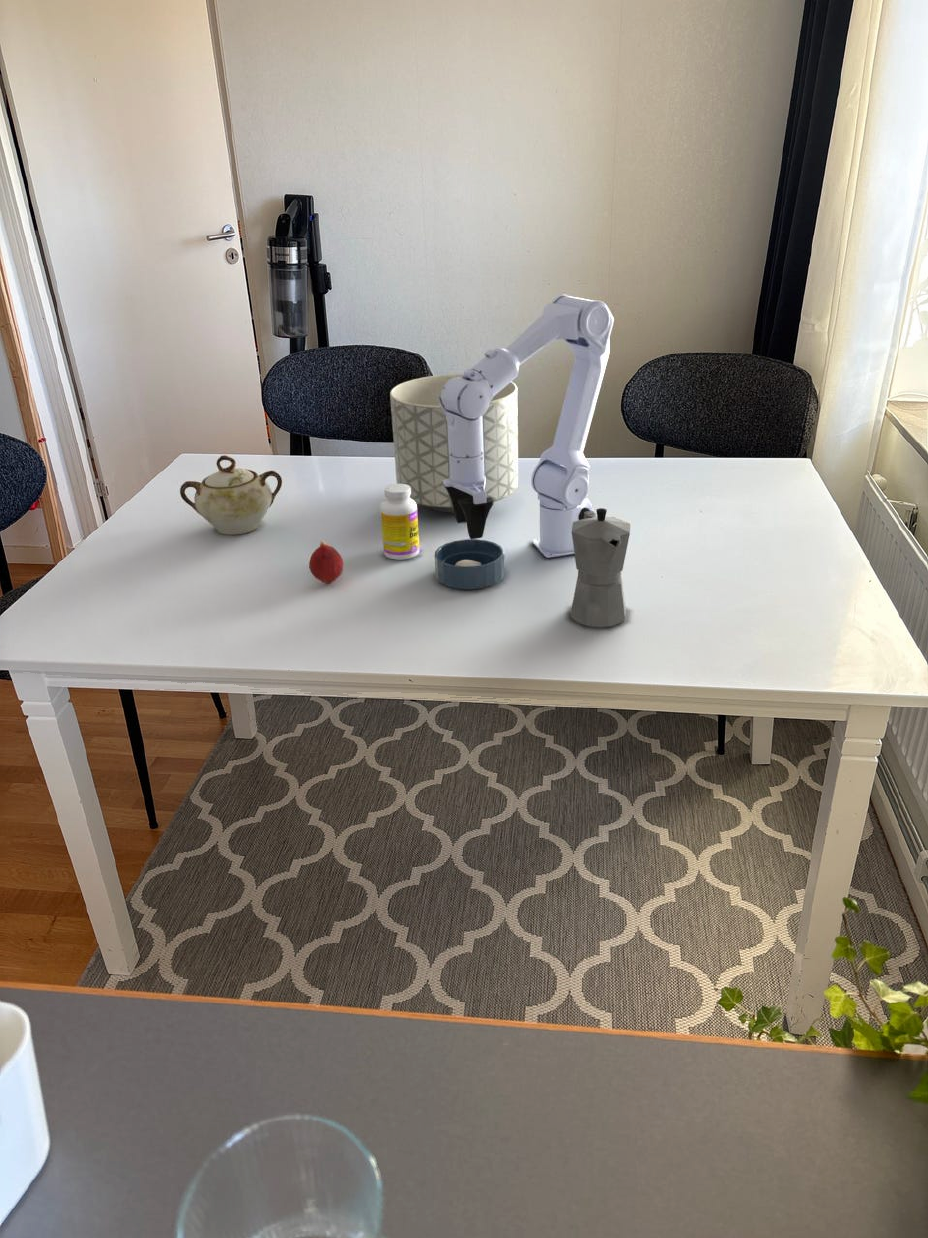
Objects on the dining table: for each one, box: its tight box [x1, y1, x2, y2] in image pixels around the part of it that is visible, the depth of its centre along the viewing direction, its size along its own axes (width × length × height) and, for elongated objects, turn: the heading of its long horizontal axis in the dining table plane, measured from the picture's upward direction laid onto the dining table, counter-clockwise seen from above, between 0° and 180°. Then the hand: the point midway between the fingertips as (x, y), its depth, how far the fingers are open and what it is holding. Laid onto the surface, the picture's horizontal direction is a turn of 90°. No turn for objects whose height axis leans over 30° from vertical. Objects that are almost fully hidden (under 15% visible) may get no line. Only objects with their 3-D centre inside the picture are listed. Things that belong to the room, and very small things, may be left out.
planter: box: [389, 373, 519, 514], centre depth 191 cm, size 25×25×24 cm
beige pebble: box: [455, 560, 481, 566], centre depth 164 cm, size 4×5×2 cm
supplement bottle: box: [379, 483, 420, 561], centre depth 172 cm, size 7×7×13 cm
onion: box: [308, 540, 344, 585], centre depth 162 cm, size 6×6×8 cm
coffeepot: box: [570, 507, 631, 628], centre depth 147 cm, size 15×9×18 cm, turn 13°
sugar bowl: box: [179, 454, 283, 536], centre depth 186 cm, size 20×15×15 cm
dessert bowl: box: [434, 538, 506, 590], centre depth 164 cm, size 12×12×4 cm
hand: (469, 529), depth 161 cm, fingers open, 7 cm apart
